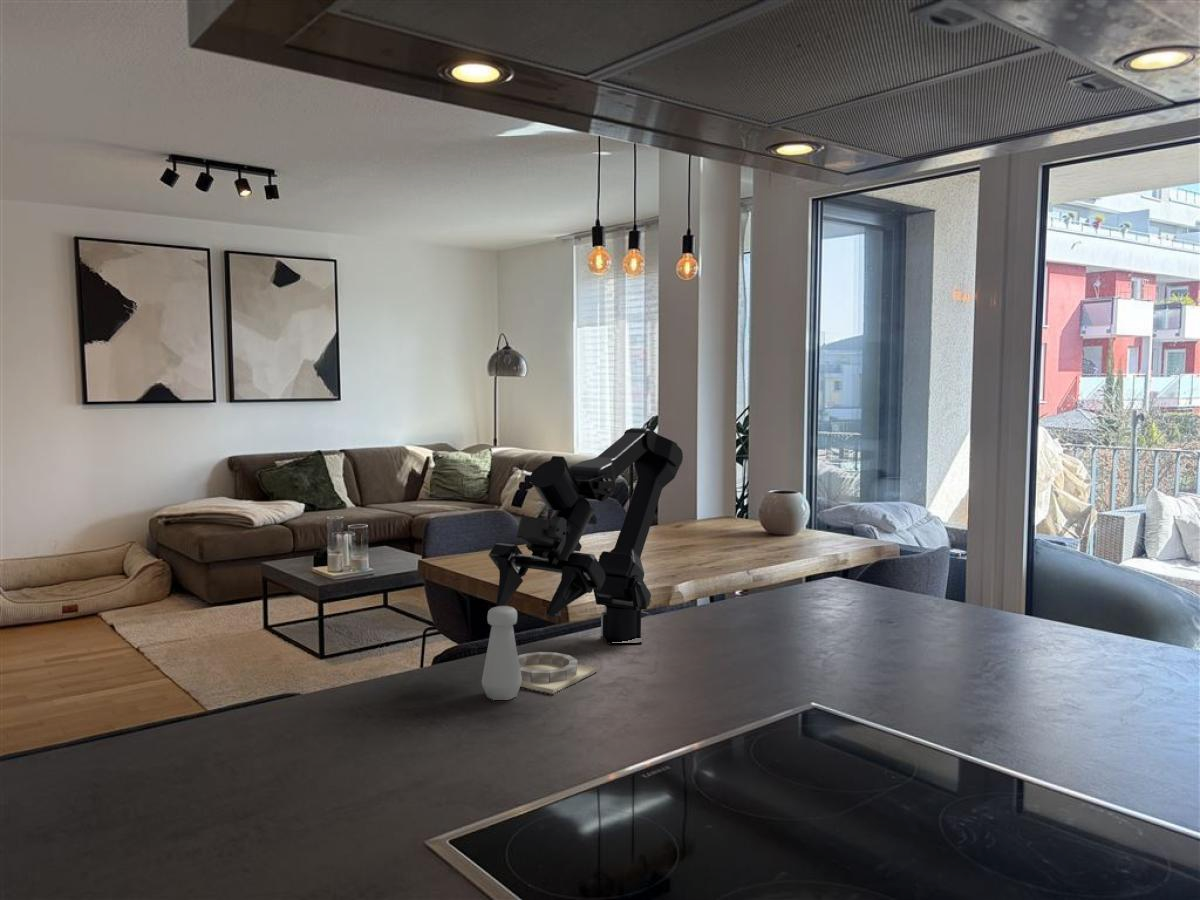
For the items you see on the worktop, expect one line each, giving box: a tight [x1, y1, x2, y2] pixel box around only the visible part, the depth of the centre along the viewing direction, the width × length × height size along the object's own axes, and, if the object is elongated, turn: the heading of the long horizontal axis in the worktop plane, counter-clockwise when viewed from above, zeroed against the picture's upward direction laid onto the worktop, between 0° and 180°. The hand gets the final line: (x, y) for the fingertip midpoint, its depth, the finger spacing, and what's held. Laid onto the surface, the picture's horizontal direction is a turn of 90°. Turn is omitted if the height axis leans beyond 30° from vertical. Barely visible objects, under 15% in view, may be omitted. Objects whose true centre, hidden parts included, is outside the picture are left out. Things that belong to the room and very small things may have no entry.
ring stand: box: [518, 651, 598, 693], centre depth 135 cm, size 12×12×2 cm
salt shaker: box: [481, 605, 522, 701], centre depth 126 cm, size 6×6×13 cm
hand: (522, 611), depth 130 cm, fingers open, 9 cm apart
